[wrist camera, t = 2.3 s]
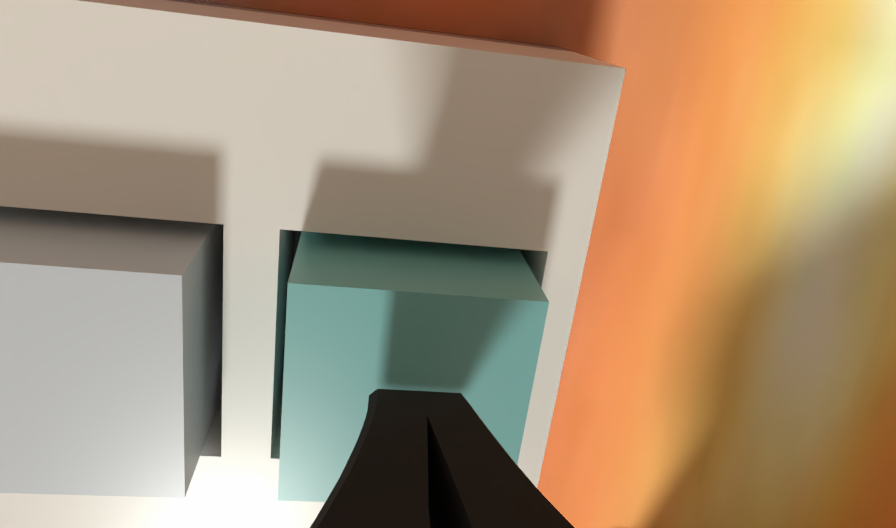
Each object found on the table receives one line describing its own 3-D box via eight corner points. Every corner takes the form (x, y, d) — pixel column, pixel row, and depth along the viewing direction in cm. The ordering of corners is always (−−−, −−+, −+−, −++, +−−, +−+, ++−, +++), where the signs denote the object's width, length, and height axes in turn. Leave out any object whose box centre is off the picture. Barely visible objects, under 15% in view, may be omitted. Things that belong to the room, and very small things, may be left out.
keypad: (561, 47, 15) (626, 68, 11) (486, 470, 19) (515, 589, 15) (-359, -70, 12) (-671, -93, 9) (-222, 444, 16) (-395, 579, 13)
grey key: (224, 208, 13) (181, 275, 10) (222, 392, 14) (184, 497, 11) (-7, 189, 12) (-124, 252, 9) (15, 382, 14) (-82, 491, 11)
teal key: (510, 233, 14) (548, 301, 11) (481, 405, 15) (509, 506, 12) (305, 216, 13) (288, 282, 10) (295, 396, 15) (277, 500, 12)
